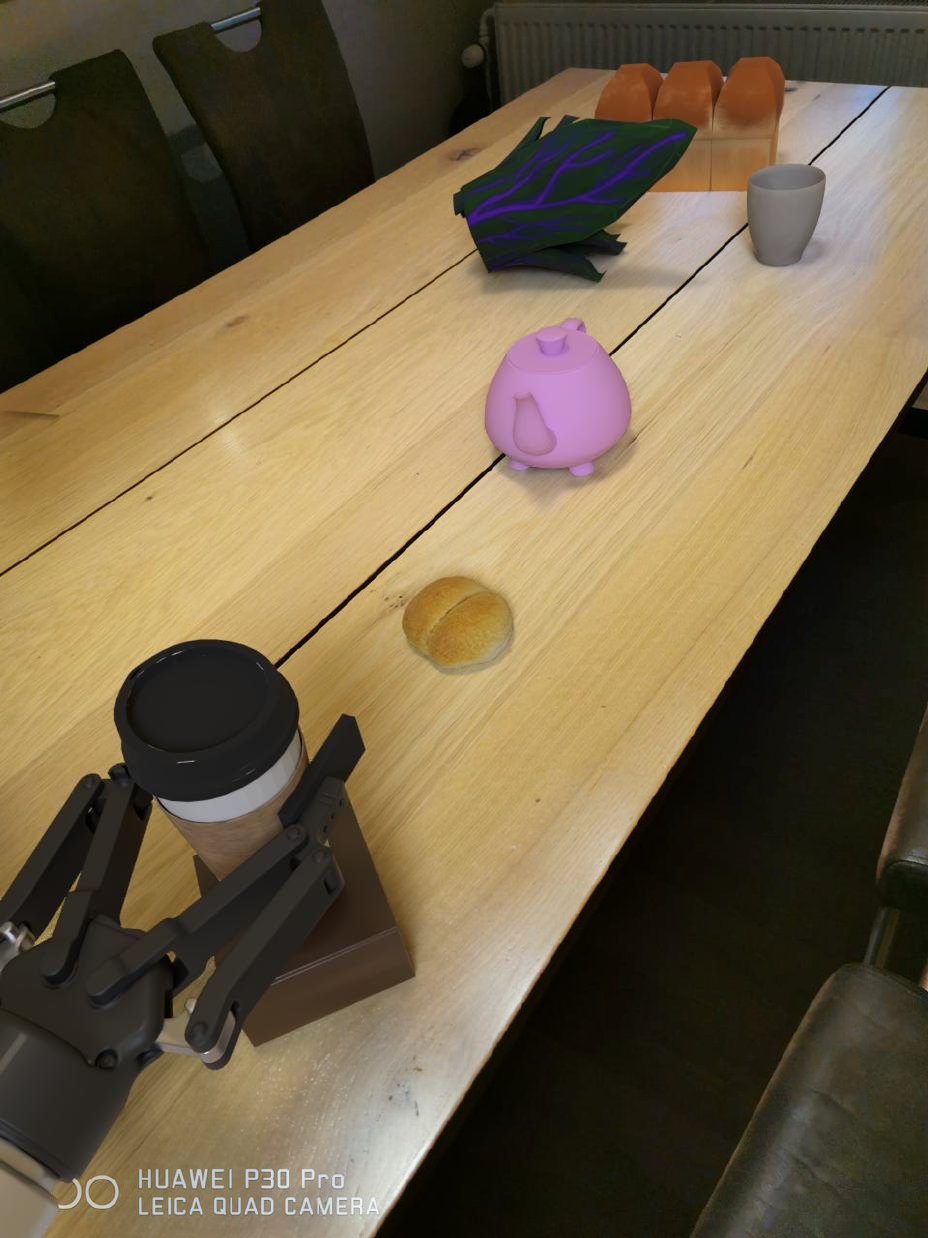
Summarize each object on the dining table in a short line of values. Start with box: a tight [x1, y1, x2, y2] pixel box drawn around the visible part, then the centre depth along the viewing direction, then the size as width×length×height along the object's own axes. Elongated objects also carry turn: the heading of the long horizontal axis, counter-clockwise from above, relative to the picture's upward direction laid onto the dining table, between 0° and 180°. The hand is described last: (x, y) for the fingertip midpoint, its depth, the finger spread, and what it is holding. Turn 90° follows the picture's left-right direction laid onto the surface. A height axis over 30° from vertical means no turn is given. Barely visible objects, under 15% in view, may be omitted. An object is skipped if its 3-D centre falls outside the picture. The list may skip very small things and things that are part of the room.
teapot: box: [483, 317, 633, 477], centre depth 90 cm, size 20×14×12 cm
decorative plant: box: [452, 114, 698, 283], centre depth 118 cm, size 21×26×30 cm
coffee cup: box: [113, 638, 330, 881], centre depth 49 cm, size 8×8×15 cm
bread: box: [593, 56, 786, 193], centre depth 137 cm, size 25×12×15 cm, turn 71°
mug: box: [746, 163, 827, 267], centre depth 117 cm, size 12×9×10 cm
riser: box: [192, 798, 416, 1048], centre depth 57 cm, size 10×10×6 cm
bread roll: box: [401, 575, 514, 670], centre depth 76 cm, size 8×9×4 cm
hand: (287, 714), depth 51 cm, fingers closed on coffee cup, 8 cm apart
